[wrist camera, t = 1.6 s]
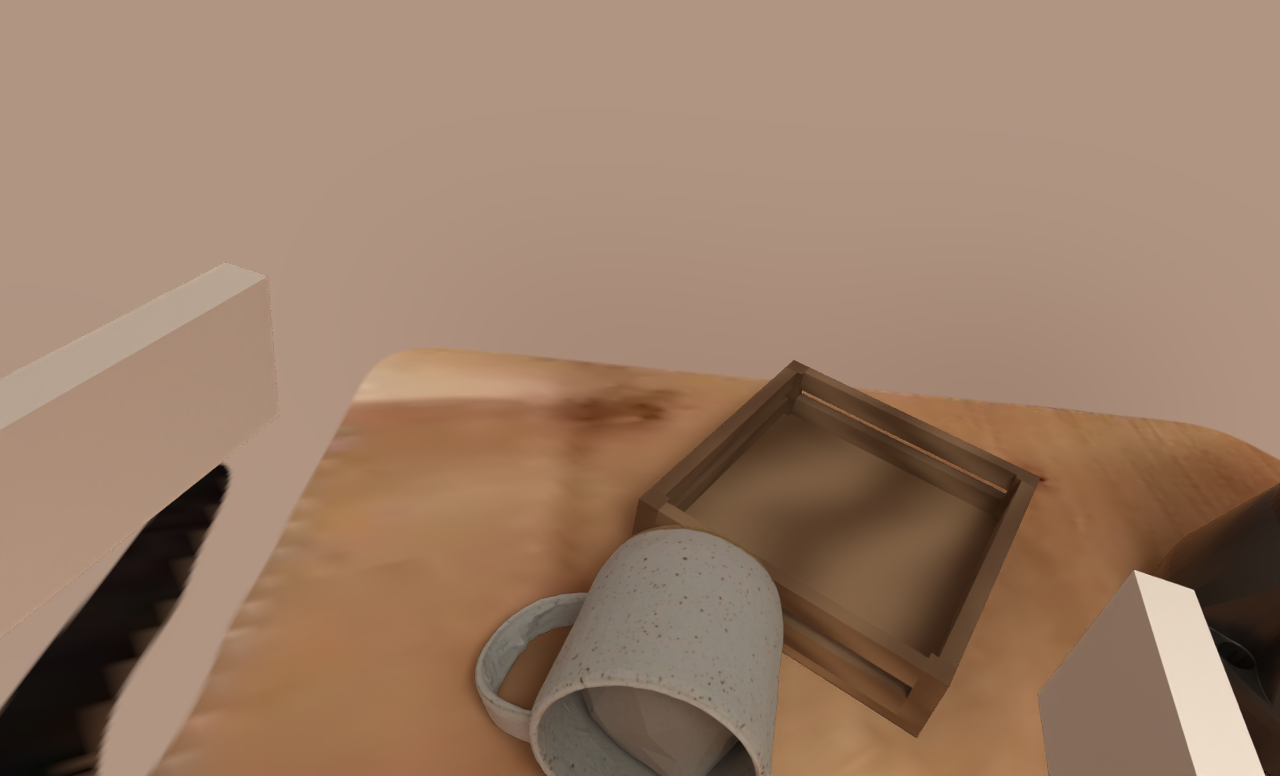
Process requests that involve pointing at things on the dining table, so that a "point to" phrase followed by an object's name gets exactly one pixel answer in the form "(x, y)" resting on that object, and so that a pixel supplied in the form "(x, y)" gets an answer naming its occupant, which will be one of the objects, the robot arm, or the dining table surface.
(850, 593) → the walnut crate
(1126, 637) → the robot arm
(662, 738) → the ceramic mug
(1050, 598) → the dining table surface
